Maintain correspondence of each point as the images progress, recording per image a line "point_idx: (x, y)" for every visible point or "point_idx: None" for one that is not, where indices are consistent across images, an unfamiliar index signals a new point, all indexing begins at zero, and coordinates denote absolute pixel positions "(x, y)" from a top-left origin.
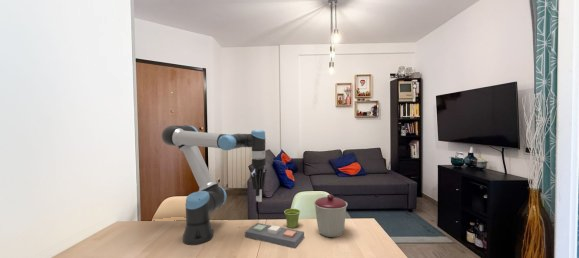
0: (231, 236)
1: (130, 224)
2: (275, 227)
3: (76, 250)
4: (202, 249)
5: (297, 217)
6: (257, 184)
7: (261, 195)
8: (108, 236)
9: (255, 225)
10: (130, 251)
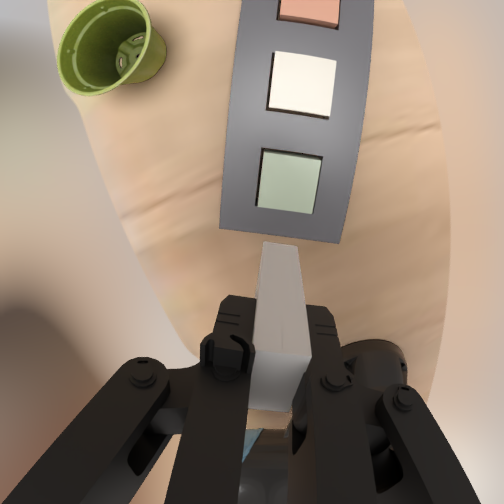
0: (337, 289)
1: None
2: (296, 77)
3: None
4: (430, 322)
5: (128, 11)
6: (424, 476)
7: (266, 280)
8: None
9: (254, 223)
10: None
